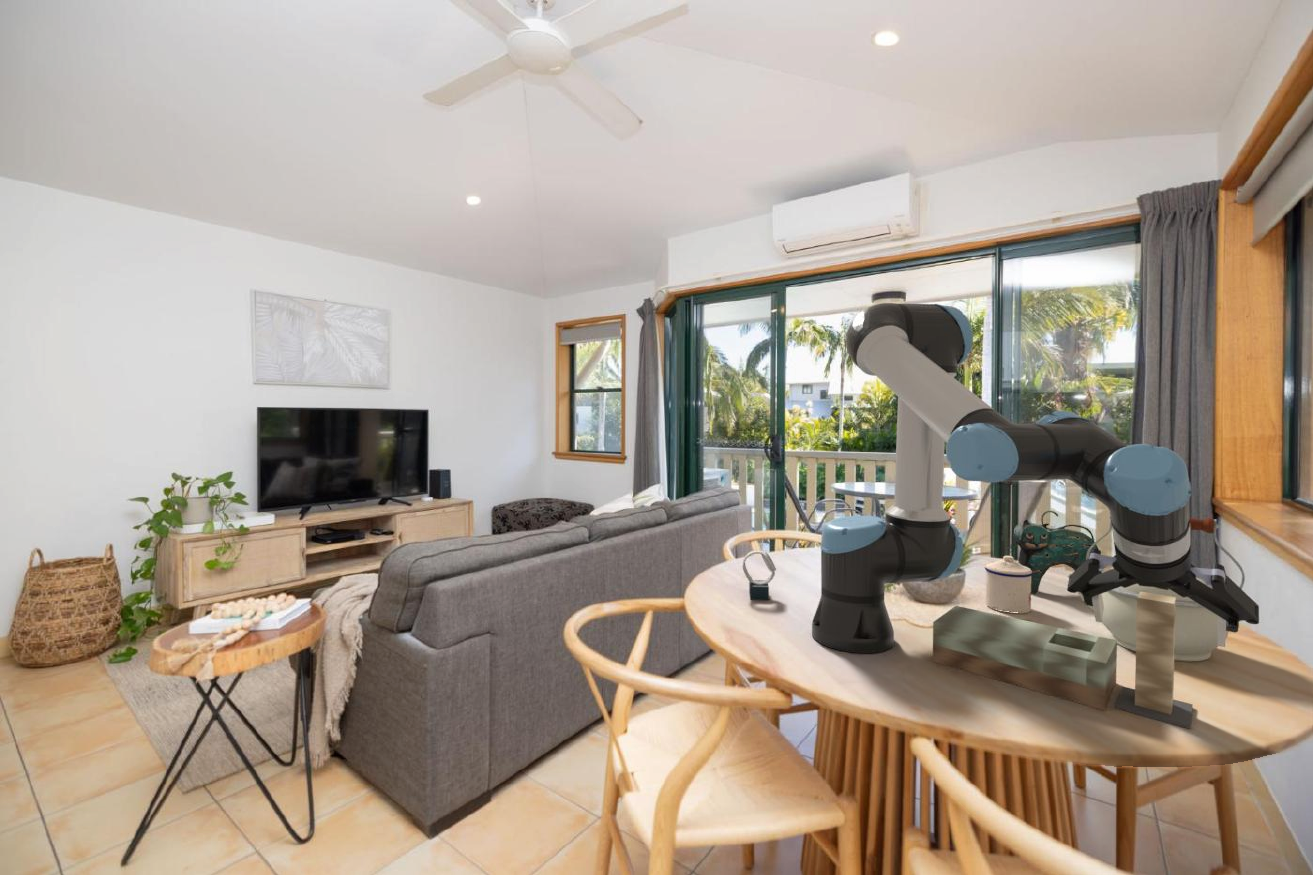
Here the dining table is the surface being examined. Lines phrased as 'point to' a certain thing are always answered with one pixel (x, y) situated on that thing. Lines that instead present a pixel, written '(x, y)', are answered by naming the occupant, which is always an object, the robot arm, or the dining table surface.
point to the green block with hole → (1028, 655)
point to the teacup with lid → (1008, 586)
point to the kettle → (1191, 619)
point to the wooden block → (1155, 651)
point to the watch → (759, 587)
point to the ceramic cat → (1050, 548)
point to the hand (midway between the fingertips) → (1157, 625)
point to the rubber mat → (1179, 711)
